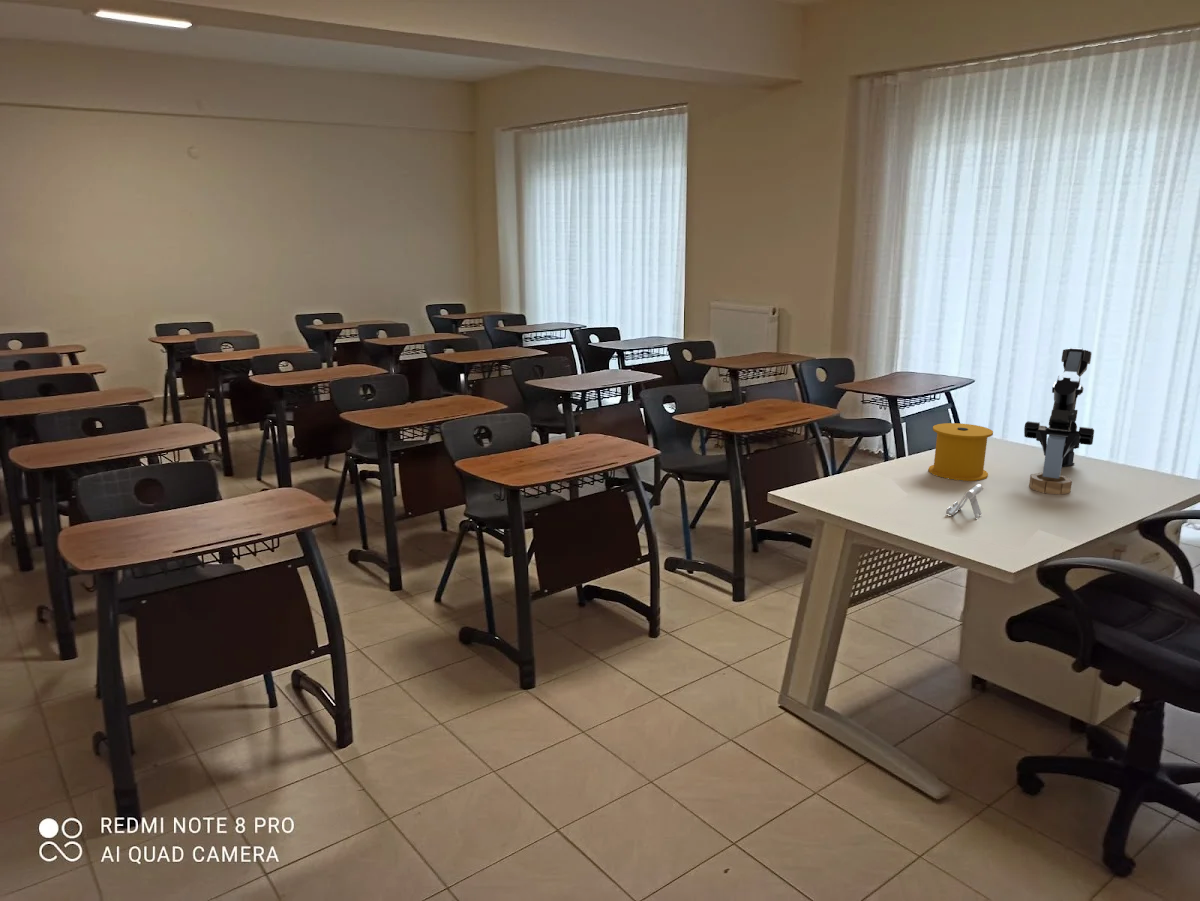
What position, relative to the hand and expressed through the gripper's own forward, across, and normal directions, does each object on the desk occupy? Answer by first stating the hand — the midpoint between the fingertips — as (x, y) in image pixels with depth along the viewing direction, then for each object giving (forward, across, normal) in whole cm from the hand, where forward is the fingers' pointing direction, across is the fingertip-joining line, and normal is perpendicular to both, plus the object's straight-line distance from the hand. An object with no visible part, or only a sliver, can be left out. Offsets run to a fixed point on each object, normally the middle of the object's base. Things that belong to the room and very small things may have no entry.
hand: (1053, 456), depth 256 cm
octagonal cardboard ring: (+7, 0, +8) cm, 11 cm away
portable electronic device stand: (+35, -18, -20) cm, 44 cm away
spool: (+5, -27, +11) cm, 30 cm away
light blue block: (+4, 0, +6) cm, 7 cm away
